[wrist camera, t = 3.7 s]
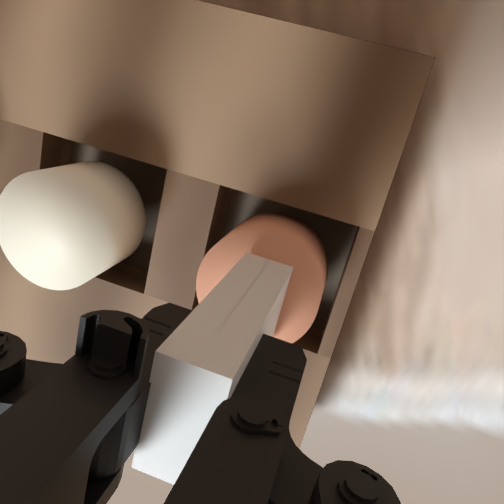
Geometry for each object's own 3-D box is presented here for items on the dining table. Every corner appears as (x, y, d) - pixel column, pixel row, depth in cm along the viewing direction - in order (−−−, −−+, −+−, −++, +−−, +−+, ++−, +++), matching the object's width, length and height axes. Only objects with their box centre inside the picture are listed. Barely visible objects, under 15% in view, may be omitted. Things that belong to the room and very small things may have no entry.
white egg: (46, 246, 19) (-9, 269, 17) (56, 148, 18) (-1, 155, 15) (136, 276, 19) (95, 306, 16) (154, 178, 18) (112, 191, 15)
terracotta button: (213, 295, 19) (185, 327, 16) (236, 198, 18) (210, 215, 15) (311, 328, 18) (299, 367, 16) (342, 230, 17) (336, 254, 14)
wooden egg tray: (-66, 292, 25) (-121, 314, 22) (-57, -52, 20) (-128, -78, 17) (301, 427, 22) (290, 473, 19) (425, 65, 17) (435, 57, 14)
